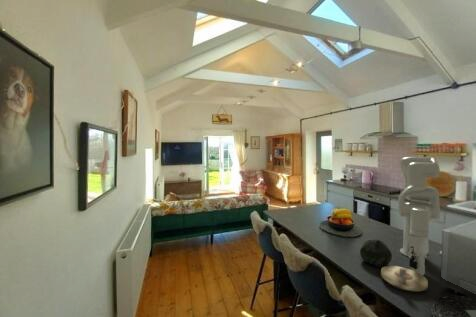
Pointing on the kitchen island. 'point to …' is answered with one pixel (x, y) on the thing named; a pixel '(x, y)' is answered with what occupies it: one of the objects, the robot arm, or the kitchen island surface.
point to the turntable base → (403, 289)
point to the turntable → (404, 278)
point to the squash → (376, 253)
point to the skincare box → (420, 264)
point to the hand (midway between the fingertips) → (417, 266)
